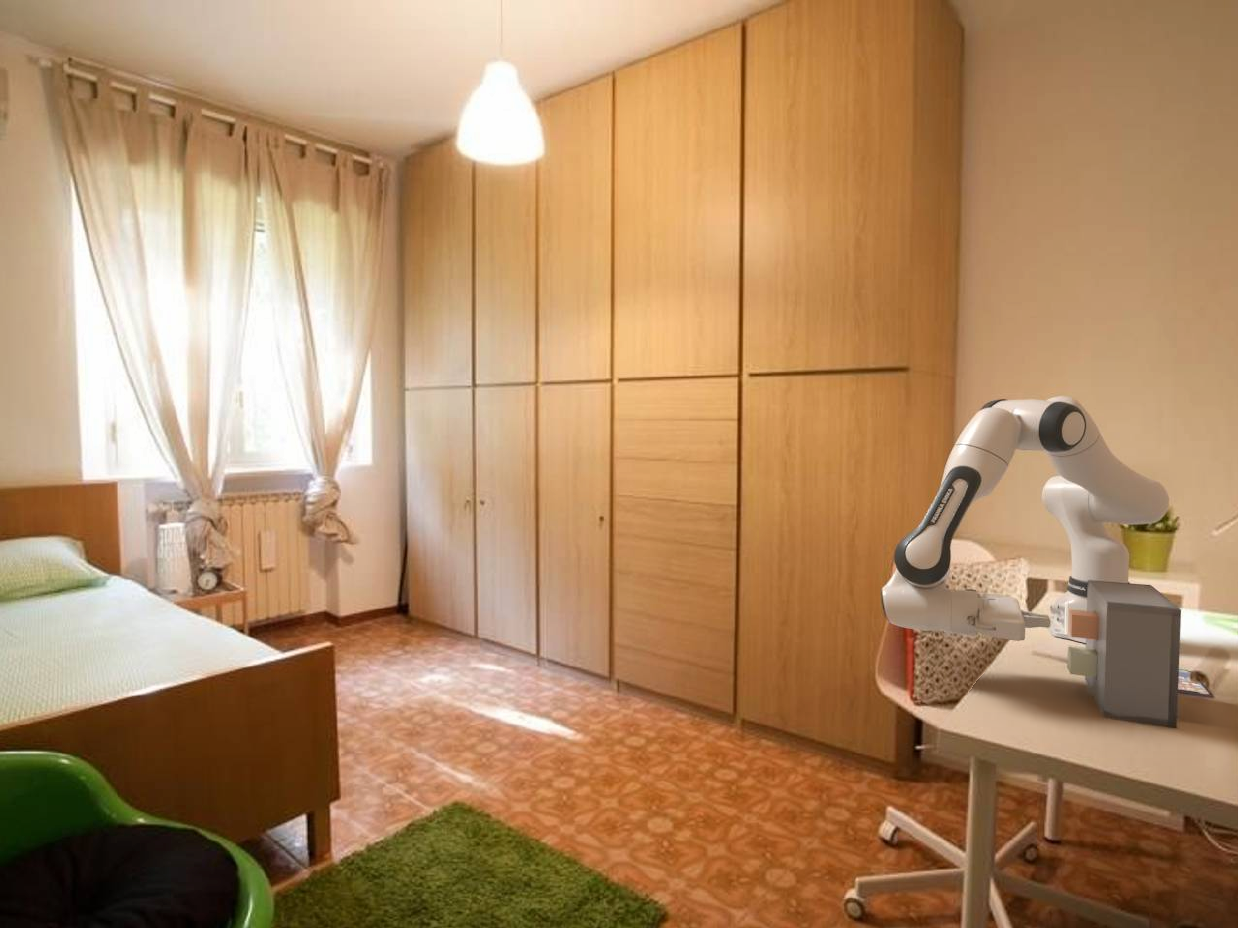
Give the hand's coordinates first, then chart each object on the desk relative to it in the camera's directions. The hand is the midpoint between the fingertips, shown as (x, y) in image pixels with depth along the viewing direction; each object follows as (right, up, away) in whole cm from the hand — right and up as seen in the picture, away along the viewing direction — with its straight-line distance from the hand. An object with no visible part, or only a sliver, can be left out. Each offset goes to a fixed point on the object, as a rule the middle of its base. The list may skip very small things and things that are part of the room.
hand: (1049, 621), depth 129 cm
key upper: (+5, -2, -3) cm, 6 cm away
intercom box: (+11, -13, -5) cm, 18 cm away
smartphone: (+28, -14, +5) cm, 32 cm away
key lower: (+5, -9, -2) cm, 11 cm away
